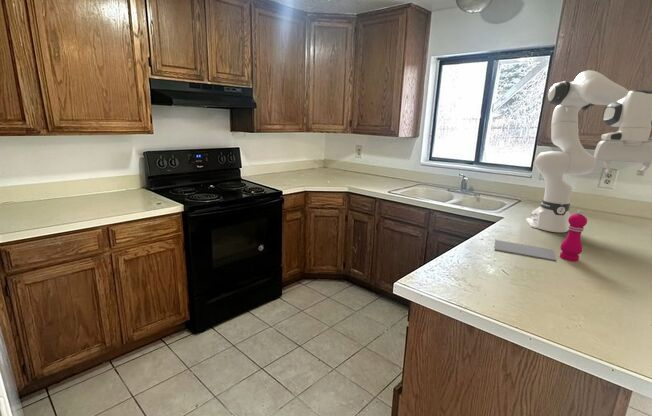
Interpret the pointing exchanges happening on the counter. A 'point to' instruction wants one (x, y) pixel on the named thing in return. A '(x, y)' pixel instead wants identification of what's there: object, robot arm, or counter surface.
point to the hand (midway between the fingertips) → (624, 174)
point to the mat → (525, 250)
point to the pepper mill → (573, 238)
